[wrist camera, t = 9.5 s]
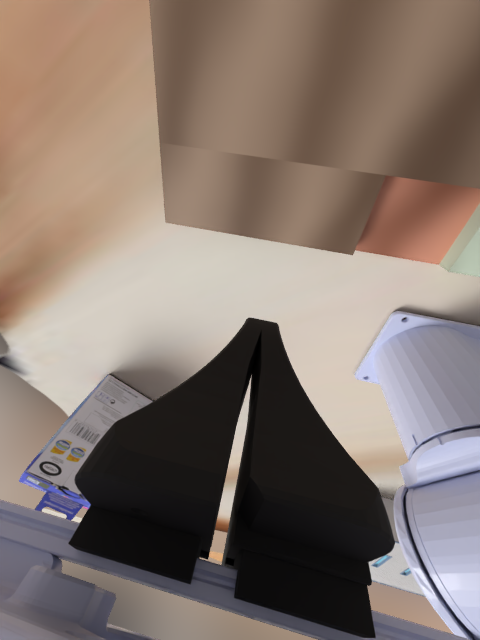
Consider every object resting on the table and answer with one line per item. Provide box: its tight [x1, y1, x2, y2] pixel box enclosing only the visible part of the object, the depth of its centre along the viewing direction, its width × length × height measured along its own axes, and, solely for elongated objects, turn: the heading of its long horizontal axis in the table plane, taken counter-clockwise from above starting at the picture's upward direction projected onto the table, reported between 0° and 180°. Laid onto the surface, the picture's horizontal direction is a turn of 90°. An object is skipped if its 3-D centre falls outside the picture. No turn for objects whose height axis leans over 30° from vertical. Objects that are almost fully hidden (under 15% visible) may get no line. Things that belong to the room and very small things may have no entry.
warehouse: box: [369, 497, 426, 597], centre depth 37 cm, size 30×14×8 cm, turn 82°
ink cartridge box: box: [19, 375, 153, 520], centre depth 28 cm, size 10×6×14 cm, turn 49°
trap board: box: [149, 0, 480, 277], centre depth 11 cm, size 28×16×2 cm, turn 84°
